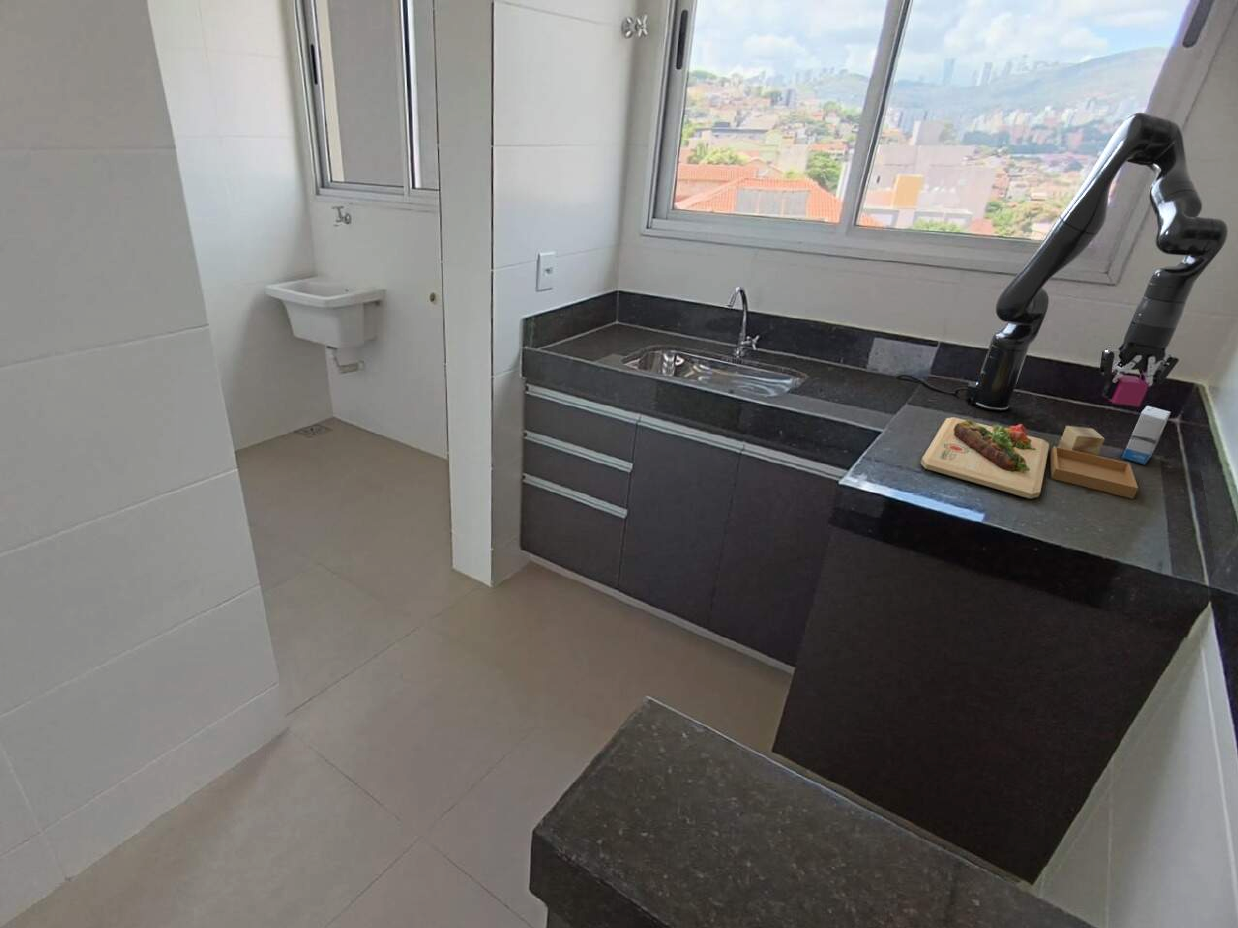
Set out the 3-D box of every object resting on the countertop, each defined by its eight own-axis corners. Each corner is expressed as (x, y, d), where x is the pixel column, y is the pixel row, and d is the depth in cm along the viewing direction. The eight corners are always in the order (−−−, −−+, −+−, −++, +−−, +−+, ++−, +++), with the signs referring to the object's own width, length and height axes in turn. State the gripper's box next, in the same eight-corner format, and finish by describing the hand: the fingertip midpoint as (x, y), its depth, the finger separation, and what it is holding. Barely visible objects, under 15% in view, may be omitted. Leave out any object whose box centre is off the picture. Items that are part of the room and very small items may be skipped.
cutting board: (946, 421, 172) (954, 394, 169) (1047, 447, 161) (1058, 419, 158) (917, 468, 146) (927, 438, 142) (1036, 503, 135) (1049, 470, 131)
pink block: (1114, 403, 139) (1123, 381, 137) (1102, 395, 143) (1111, 374, 141) (1139, 406, 138) (1149, 384, 136) (1127, 398, 143) (1136, 376, 141)
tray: (1051, 478, 146) (1055, 468, 144) (1049, 455, 157) (1053, 446, 156) (1133, 498, 139) (1138, 488, 138) (1125, 473, 151) (1130, 463, 149)
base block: (1067, 458, 156) (1077, 435, 153) (1057, 447, 161) (1066, 425, 159) (1094, 461, 155) (1105, 438, 153) (1083, 450, 161) (1092, 428, 158)
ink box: (1144, 465, 155) (1166, 420, 150) (1119, 458, 158) (1140, 413, 153) (1151, 455, 160) (1173, 411, 155) (1127, 448, 164) (1147, 404, 158)
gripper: (1182, 320, 136) (1147, 397, 143) (1107, 313, 137) (1077, 390, 145) (1204, 329, 129) (1167, 409, 137) (1126, 322, 131) (1093, 402, 138)
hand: (1121, 399), depth 141 cm, fingers closed on pink block, 5 cm apart
